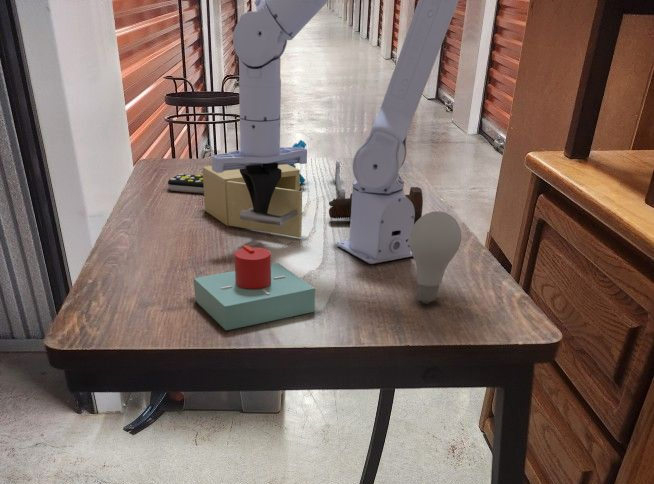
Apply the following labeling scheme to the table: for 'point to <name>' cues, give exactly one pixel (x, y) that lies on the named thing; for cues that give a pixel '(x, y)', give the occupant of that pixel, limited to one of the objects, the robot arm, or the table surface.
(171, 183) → the remote control
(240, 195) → the cabinet door
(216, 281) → the panel
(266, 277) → the cylinder
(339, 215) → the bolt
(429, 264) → the lightbulb
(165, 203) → the table surface
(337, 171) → the combination wrench
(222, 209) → the cabinet
